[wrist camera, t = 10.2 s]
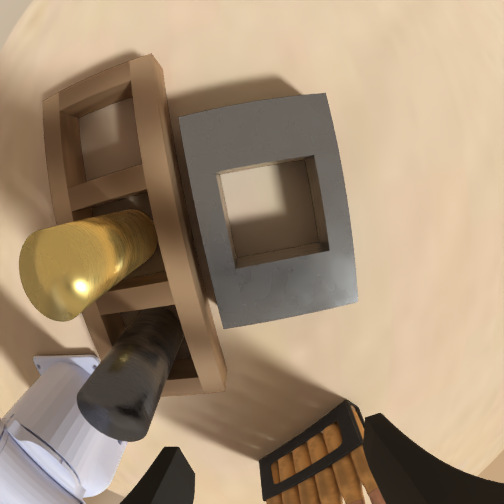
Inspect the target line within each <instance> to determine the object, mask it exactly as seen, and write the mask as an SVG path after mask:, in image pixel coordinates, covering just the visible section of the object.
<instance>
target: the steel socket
mask: <svg viewBox="0 0 504 504" xmlns="http://www.w3.org/2000/svg"><path fill="white" fill-rule="evenodd" d="M178 118H179V124H180V130H181V136H182V142H183V147H184V153H185V158H186V163H187V169H188V174H189V179H190V184H191V189H192V194H193V199H194V204H195V209H196V214H197V218H198V223H199V228H200V232H201V237H202V241H203V246H204V250H205V255H206V259H207V263H208V268H209V272H210V276H211V280H212V285H213V289H214V293H215V297H216V301H217V305H218V309H219V313H220V317H221V321H222V325H223V329H228V328H234V327H240V326H246V325H252V324H257V323H263V322H268V321H273V320H279V319H284V318H289V317H294V316H298V315H303V314H308V313H313V312H317V311H322V310H326V309H331V308H335V307H339V306H343V305H348V304H352V303H356V302H358V292H357V279H356V268H355V257H354V248H353V239H352V231H351V223H350V215H349V208H348V201H347V195H346V189H345V183H344V177H343V171H342V166H341V160H340V155H339V150H338V145H337V140H336V135H335V131H334V126H333V122H332V117H331V113H330V109H329V105H328V101H327V97H326V93H320V94H309V95H298V96H289V97H281V98H274V99H267V100H260V101H254V102H248V103H242V104H236V105H231V106H226V107H221V108H216V109H212V110H207V111H203V112H198V113H194V114H190V115H186V116H182V117H178ZM298 160H305V163H306V168H307V173H308V179H309V184H310V190H311V196H312V202H313V208H314V214H315V220H316V227H317V233H318V240H319V243H313V244H308V245H303V246H298V247H293V248H287V249H282V250H277V251H272V252H266V253H261V254H256V255H251V256H246V257H240V258H237V257H236V252H235V247H234V242H233V238H232V233H231V228H230V223H229V218H228V213H227V208H226V203H225V198H224V193H223V188H222V183H221V178H220V175H221V174H225V173H230V172H235V171H240V170H246V169H251V168H256V167H262V166H268V165H273V164H279V163H286V162H292V161H298Z"/></svg>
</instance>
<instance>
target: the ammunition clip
mask: <svg viewBox="0 0 504 504" xmlns="http://www.w3.org/2000/svg"><path fill="white" fill-rule="evenodd" d="M364 427H365V422H364V420H363V417H362V415H361V412H360V410H359V408H358V407H357V406H355V405H354V404H352V403H351V402H349V401H348V400H346V401H344V402H342V403H341V404H340V405H339V406H337V407H336V408H335V409H334V410H332V411H331V412H330V413H328V414H327V415H326V416H324V417H323V418H322V419H321V420H319V421H318V422H316V423H315V424H314V425H312V426H311V427H310V428H308V429H307V430H305V431H304V432H303V433H301V434H300V435H298V436H297V437H295V438H294V439H292V440H291V441H289V442H288V443H286V444H285V445H283V446H282V447H280V448H279V449H277V450H275V451H274V452H272V453H271V454H269V455H267V456H266V457H264V458H262V459H261V460H259V466H260V476H261V487H262V497H263V501H266V502H267V504H343V501H342V496H343V498H344V500H345V503H346V504H365V500H364V496H363V492H362V484H363V486H364V487H365V489H366V491H367V494H368V495H369V497H370V500H371V502H372V504H386V503H385V501H384V499H383V497H382V494H381V492H380V490H379V488H378V486H377V484H376V482H375V480H374V478H373V475H372V473H371V471H370V469H369V466H368V463H367V460H366V457H365V454H364V450H363V438H364Z"/></svg>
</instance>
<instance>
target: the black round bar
mask: <svg viewBox="0 0 504 504" xmlns="http://www.w3.org/2000/svg"><path fill="white" fill-rule="evenodd" d="M183 336H184V332H183V329H182V326H181V323H180V320H179V319H178V318H177V316H176V315H175V314H174V313H172V312H171V311H169V310H167V309H165V308H162V307H155V308H148V309H143V310H142V311H141V312H140V313H139V314H138V315H137V316H136V318H135V319H134V320H133V321H132V323H131V324H130V325H129V326H128V328H127V329H126V330H125V331H124V333H123V334H122V335H121V336H120V338H119V339H118V340H117V341H116V343H115V344H114V345H113V347H112V348H111V349H110V350H109V352H108V353H107V354H106V356H105V357H104V358H103V360H102V361H101V362H100V364H99V365H98V366H97V367H96V369H95V370H94V371H93V373H92V374H91V375H90V377H89V378H88V379H87V381H86V382H85V384H84V385H83V386H82V388H81V389H80V390H79V392H78V394H77V405H78V408H79V410H80V412H81V414H82V415H83V417H84V418H85V419H86V421H87V422H88V423H89V424H90V425H92V426H93V427H94V428H95V429H96V430H98V431H99V432H101V433H103V434H104V435H106V436H108V437H111V438H113V439H116V440H120V441H126V442H133V441H138V440H141V439H142V438H144V437H145V436H146V434H147V432H148V429H149V426H150V424H151V421H152V418H153V416H154V413H155V410H156V407H157V405H158V402H159V399H160V397H161V394H162V391H163V389H164V386H165V384H166V381H167V378H168V376H169V373H170V371H171V368H172V365H173V363H174V360H175V358H176V355H177V353H178V350H179V348H180V345H181V342H182V340H183Z"/></svg>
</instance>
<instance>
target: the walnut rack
mask: <svg viewBox="0 0 504 504" xmlns="http://www.w3.org/2000/svg"><path fill="white" fill-rule="evenodd" d="M130 97H133V104H134V112H135V120H136V127H137V134H138V140H139V147H140V153H141V159H142V164H140V165H136V166H133V167H130V168H127V169H123V170H120V171H117V172H114V173H111V174H108V175H105V176H102V177H99V178H96V179H93V180H90V181H88V182H86V178H85V172H84V165H83V158H82V150H81V141H80V131H79V120H78V118H79V117H82V116H84V115H86V114H89V113H91V112H93V111H96V110H98V109H100V108H103V107H105V106H108V105H111V104H113V103H116V102H119V101H121V100H124V99H127V98H130ZM43 122H44V139H45V151H46V161H47V170H48V177H49V184H50V191H51V197H52V203H53V208H54V213H55V218H56V223H57V226H58V225H62V224H66V223H70V222H74V221H78V220H83V219H87V218H91V217H93V216H92V211H91V208H93V207H97V206H100V205H103V204H106V203H110V202H113V201H116V200H120V199H123V198H127V197H130V196H134V195H138V194H141V193H145V192H148V197H149V202H150V206H151V211H152V216H153V220H154V225H155V229H156V234H157V238H158V242H159V246H160V250H161V254H162V258H163V262H164V266H165V270H166V272H161V273H156V274H150V275H145V276H140V277H134V278H129V279H124V280H121V281H120V282H118V283H117V284H116V285H114V286H113V287H112V288H111V289H109V290H108V291H107V292H106V293H104V294H103V295H102V296H101V297H99V298H98V299H97V300H96V301H94V302H93V303H92V304H91V305H90V306H88V307H87V308H86V309H85V310H84V311H82V314H83V317H84V319H85V322H86V325H87V327H88V330H89V332H90V335H91V337H92V340H93V342H94V345H95V347H96V349H97V352H98V354H99V356H100V358H101V361H102V360H103V358H104V357H105V356H106V354H107V353H108V352H109V350H110V349H111V348H112V347H113V345H114V344H115V343H116V341H117V340H118V339H119V338H120V336H121V335H122V334H123V333H124V331H125V327H124V324H123V322H122V319H121V316H120V312H127V311H134V310H141V309H148V308H155V307H161V306H168V305H174V304H175V306H176V309H177V313H178V316H179V319H180V323H181V326H182V329H183V332H184V336H185V339H186V342H187V345H188V348H189V351H190V354H191V357H192V359H183V360H174V363H173V365H172V368H171V371H170V373H169V376H168V378H167V381H166V384H165V386H164V389H163V391H162V394H161V397H163V396H180V395H193V394H204V393H214V392H223V391H225V387H226V376H227V368H226V365H225V361H224V358H223V354H222V351H221V347H220V344H219V340H218V336H217V333H216V329H215V325H214V322H213V318H212V314H211V310H210V306H209V303H208V299H207V295H206V291H205V287H204V283H203V279H202V275H201V270H200V266H199V262H198V258H197V254H196V249H195V245H194V240H193V236H192V232H191V227H190V222H189V218H188V213H187V208H186V203H185V199H184V194H183V189H182V184H181V179H180V173H179V168H178V163H177V157H176V152H175V146H174V140H173V135H172V129H171V123H170V116H169V110H168V104H167V97H166V90H165V83H164V76H163V69H162V67H161V66H160V64H159V63H158V62H157V60H156V59H155V58H154V56H153V55H152V53H151V54H148V55H145V56H142V57H139V58H136V59H134V60H131V61H128V62H125V63H123V64H120V65H117V66H115V67H112V68H110V69H107V70H105V71H103V72H100V73H98V74H96V75H93V76H91V77H89V78H87V79H85V80H82V81H80V82H78V83H76V84H74V85H72V86H70V87H68V88H66V89H64V90H62V91H60V92H58V93H57V94H55V95H53V96H51V97H49V98H47V99H46V100H44V101H43Z"/></svg>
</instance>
